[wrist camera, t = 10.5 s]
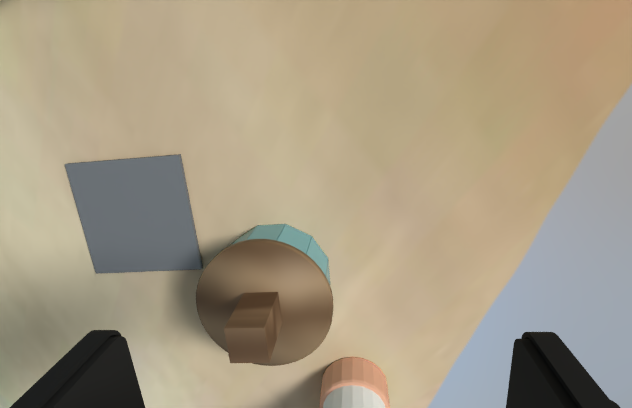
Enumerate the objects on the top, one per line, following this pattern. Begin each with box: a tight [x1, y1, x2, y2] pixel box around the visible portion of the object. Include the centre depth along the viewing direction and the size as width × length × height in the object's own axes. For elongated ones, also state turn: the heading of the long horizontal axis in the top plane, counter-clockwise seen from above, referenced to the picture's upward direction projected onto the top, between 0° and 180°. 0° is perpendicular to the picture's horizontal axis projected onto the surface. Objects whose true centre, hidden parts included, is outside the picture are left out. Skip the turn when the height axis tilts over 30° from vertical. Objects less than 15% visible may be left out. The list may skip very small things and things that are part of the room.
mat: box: [65, 154, 203, 273], centre depth 37 cm, size 12×12×1 cm
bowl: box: [232, 224, 330, 284], centre depth 35 cm, size 11×11×6 cm
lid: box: [196, 239, 333, 366], centre depth 29 cm, size 12×12×6 cm
